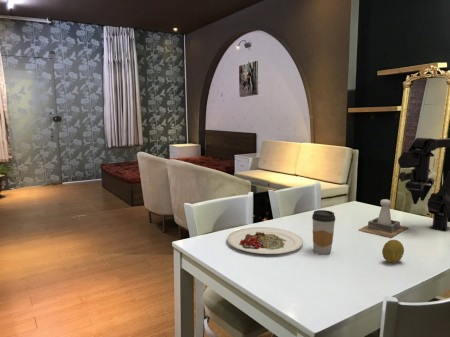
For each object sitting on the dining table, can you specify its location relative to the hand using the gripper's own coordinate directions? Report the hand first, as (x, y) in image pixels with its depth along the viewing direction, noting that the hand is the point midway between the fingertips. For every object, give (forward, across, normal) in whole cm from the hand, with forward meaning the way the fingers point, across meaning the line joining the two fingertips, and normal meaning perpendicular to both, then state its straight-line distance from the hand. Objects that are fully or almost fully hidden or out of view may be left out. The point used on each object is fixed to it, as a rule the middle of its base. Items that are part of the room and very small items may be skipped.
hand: (418, 202), depth 156 cm
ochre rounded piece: (+13, +43, +6) cm, 45 cm away
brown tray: (+13, +8, -11) cm, 19 cm away
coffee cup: (+13, +52, -16) cm, 56 cm away
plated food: (+14, +60, -37) cm, 72 cm away
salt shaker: (+13, +8, -11) cm, 19 cm away
